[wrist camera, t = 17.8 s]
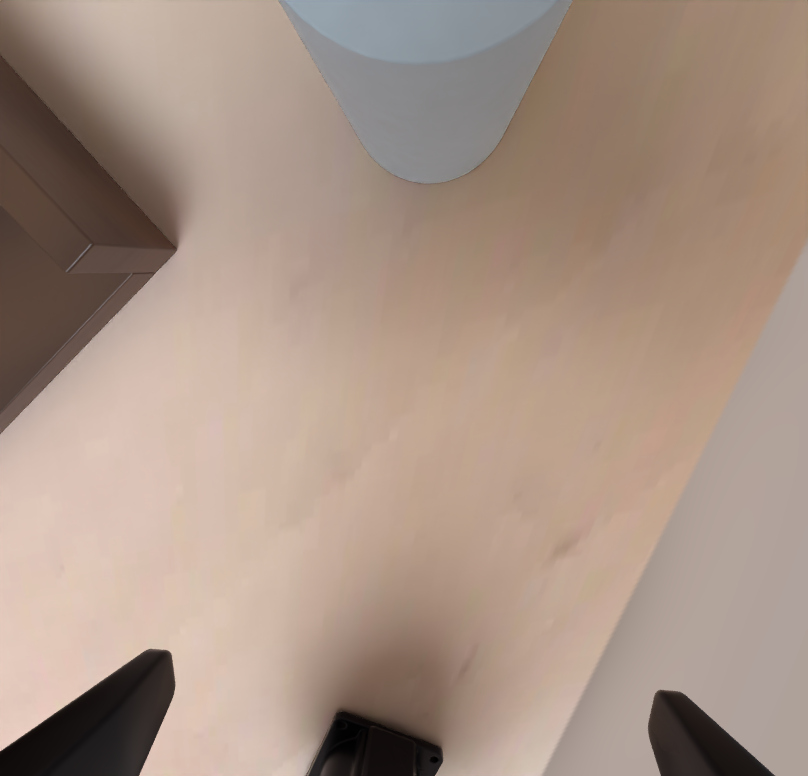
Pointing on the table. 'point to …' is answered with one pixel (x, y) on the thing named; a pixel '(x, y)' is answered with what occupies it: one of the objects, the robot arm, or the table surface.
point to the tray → (59, 246)
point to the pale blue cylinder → (427, 73)
